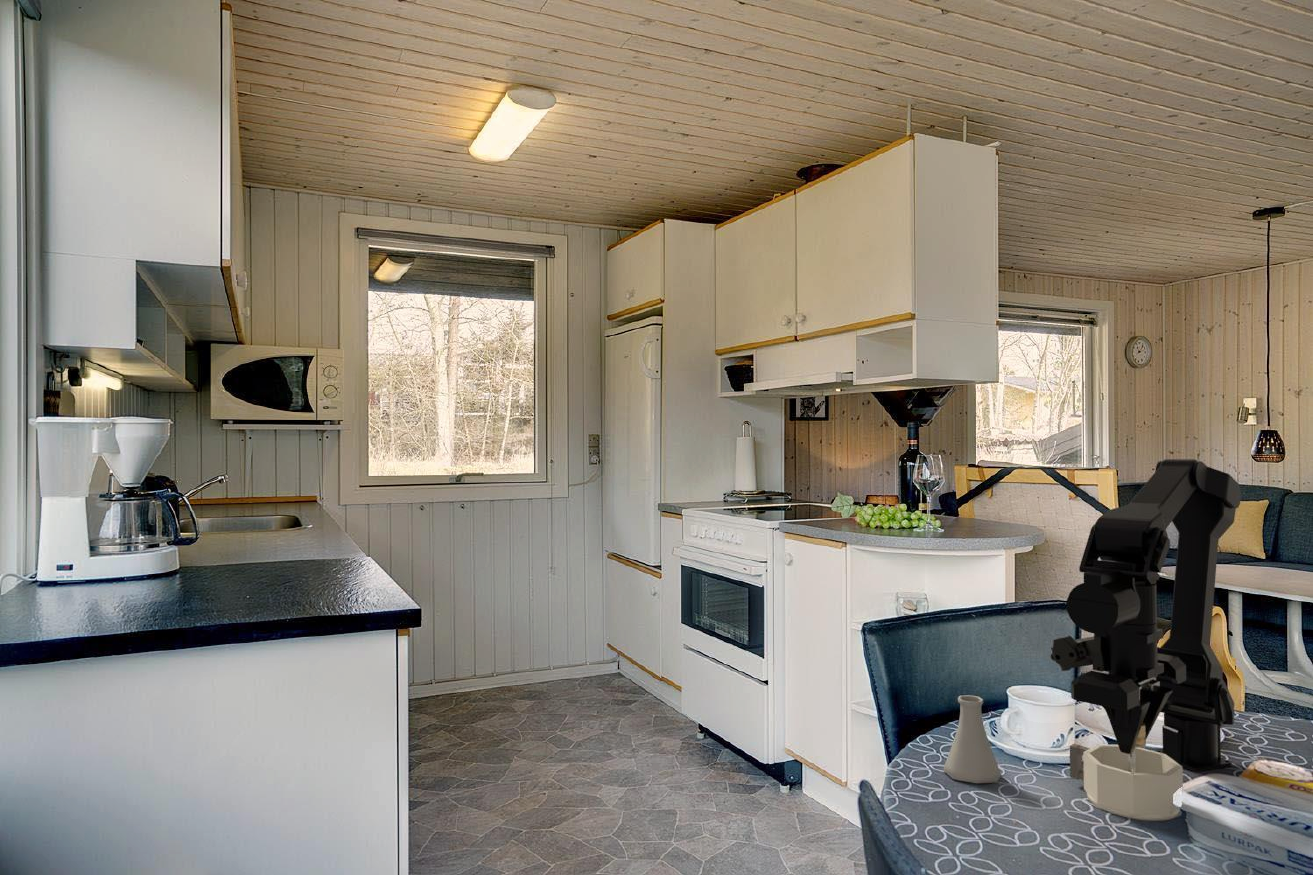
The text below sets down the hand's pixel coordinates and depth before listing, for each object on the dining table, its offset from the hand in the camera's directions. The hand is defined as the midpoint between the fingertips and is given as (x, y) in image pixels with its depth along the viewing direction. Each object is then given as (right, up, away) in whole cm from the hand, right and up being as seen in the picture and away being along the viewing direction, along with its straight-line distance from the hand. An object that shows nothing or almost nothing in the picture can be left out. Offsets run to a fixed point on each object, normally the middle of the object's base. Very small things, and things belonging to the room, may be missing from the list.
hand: (1131, 749), depth 101 cm
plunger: (0, -6, 0) cm, 6 cm away
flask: (-16, -7, +9) cm, 20 cm away
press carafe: (-1, -6, +1) cm, 6 cm away
